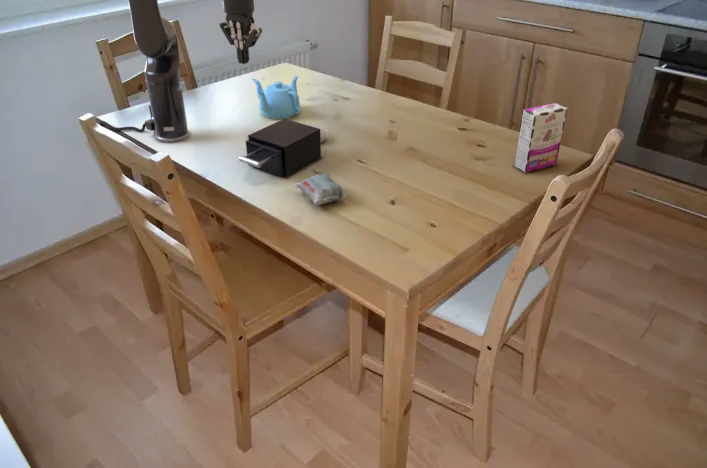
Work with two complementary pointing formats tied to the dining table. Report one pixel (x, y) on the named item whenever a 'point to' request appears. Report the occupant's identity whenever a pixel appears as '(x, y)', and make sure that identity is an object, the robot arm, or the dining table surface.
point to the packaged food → (321, 189)
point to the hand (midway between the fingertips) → (243, 62)
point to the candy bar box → (540, 137)
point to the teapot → (278, 99)
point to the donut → (322, 131)
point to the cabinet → (292, 143)
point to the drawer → (263, 157)
